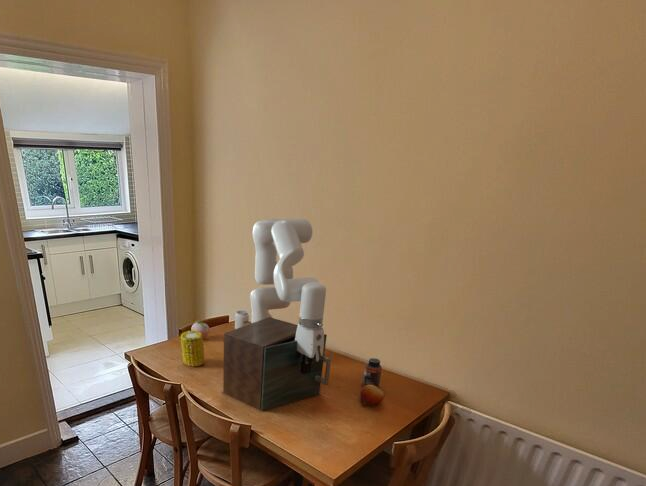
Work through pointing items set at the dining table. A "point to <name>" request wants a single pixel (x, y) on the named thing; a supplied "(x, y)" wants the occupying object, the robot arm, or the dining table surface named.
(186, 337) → the food
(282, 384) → the door
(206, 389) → the dining table surface
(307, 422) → the dining table surface
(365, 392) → the fruit
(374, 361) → the supplement bottle
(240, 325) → the beverage can
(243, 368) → the cupboard
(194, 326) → the decorative fruit
